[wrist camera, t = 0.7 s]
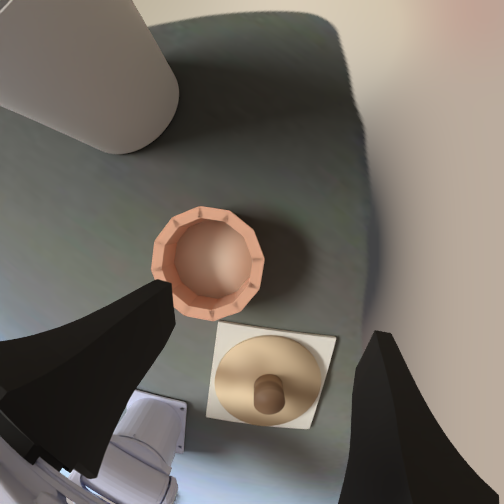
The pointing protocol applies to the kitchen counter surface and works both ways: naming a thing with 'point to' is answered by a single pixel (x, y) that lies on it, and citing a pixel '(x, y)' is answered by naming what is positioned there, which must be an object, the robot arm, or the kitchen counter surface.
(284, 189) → the kitchen counter surface
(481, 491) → the robot arm
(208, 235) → the bowl
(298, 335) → the mat
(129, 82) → the cylinder vase
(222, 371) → the lid
